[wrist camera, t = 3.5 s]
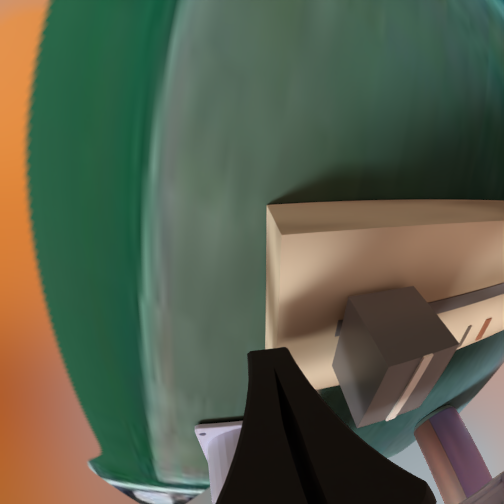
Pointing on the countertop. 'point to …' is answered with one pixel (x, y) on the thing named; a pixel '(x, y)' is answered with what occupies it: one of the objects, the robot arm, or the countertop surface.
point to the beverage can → (451, 455)
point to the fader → (390, 353)
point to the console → (379, 269)
